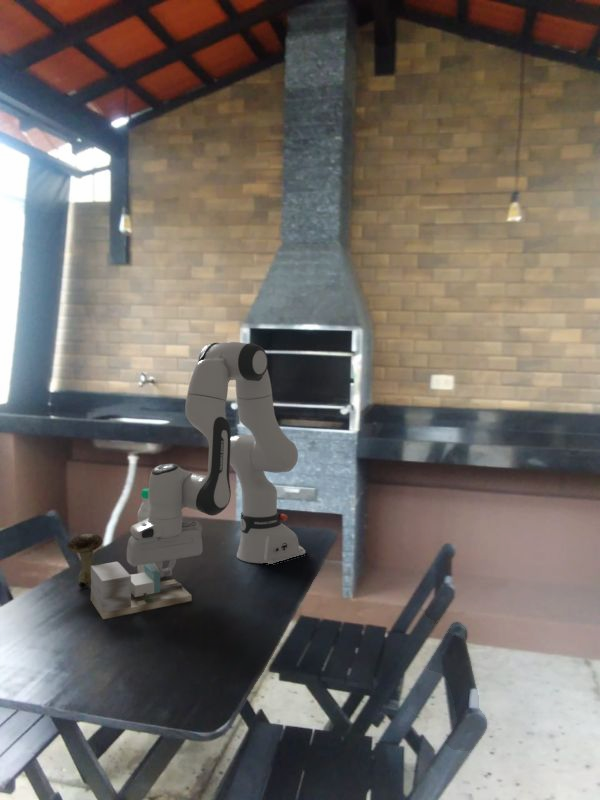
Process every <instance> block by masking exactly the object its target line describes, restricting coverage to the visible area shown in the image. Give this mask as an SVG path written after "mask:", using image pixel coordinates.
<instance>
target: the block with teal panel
mask: <svg viewBox="0 0 600 800" xmlns="http://www.w3.org/2000/svg"><path fill="white" fill-rule="evenodd" d="M144 566H145V572H143V573H138V572H137V573H134V574H133V573H132V574H129V575H130V576H131V593H132V594H133V595H134V596H135V597H138V596H143V595H144V596H145V597H146V598H149V596H148V594H153V593H158V592H160V582H161V577H160V573H159V572H158V571H157V570H156V569H155V568H154V567H153V566H152V565H151V564H148V565H144Z"/></svg>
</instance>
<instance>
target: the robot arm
mask: <svg viewBox="0 0 600 800" xmlns="http://www.w3.org/2000/svg"><path fill="white" fill-rule="evenodd" d="M264 349H265V348H263V346H260V345H258V344H255V343H252V342H251V343H250V342H249V343H245V342H240V341H231V342H213V343H208V344H206V345H204V346H203V348H202V349H201V351H200V353H199V355H198V359H197V360H198V362H197V363H196V365H195V367H194V369H193V372H192V375H191V377H190V380H189V384H188V390H187V394H186V399H185V406H184V410H185V411H184V412H185V417H186V419H187V421H188V422H189V423H190V425H191V426H193V427H194V428H195V429H196V430H198V431H199V432H200V433H201V434H203V436H204V437H205V439H206V440H207V444H208V464H207V474H206V475H204V474H200V473H196V472H192V471H188V470H185V469H183V468H182V467H180V466H179V465H178V464H177V463H176V464H175V463H166V464H165V463H164V464H159V465H157V466H156V467H154V468H152V470H151V472H150V474H149V479H148V488H149V489H148V500H149V503H150V511H149V518H147V519H145V520H143V521H141V522H139V523H138V522H137V523H135V524H132V525H131V526H130V534H131V535H130V537H129V538H128V541H127V546H126V562H127V564H129V565H130V566H131V567H137V566H139V565H145V564H151V563H155V564H156V566H157V567H158V569H159V573H160V578H164V577H169V576H170V577H171V576H172V575H173V569H174V568H175V565H176V563H177V560H178V559H184V558H189V557H194V556H195V557H197V556H200V555H201V554H202V553H203V540H202V534H203V525H202V524H201V523H200V522H198V521H196V520H195V521H190V522H183V509H185V508H188V509H190V510H191V509H192V510H194V511H198V512H200V513H202V514H203V513H204V514H206V515H208V516H217V515H219V514H221V513H222V512H223V511H224V510H225V509H226V508H227V507H228V505H229V504H230V501H231V496H232V495H231V494H232V491H231V490H232V489H231V483H230V481H231V480H230V467H231V468H232V469H233V471H234V472H235V474H236V476H237V479H238V481H239V484H240V489H241V502H242V503H241V505H242V507H241V510H242V511H241V513H240V533H241V534H240V540H239V544H238V549H237V553H236V558H237V559H239V560H240V561H243V562H246V563H250V564H251V563H253V564H263V563H268V564H267V565H269V564H273V563H276V562H279V561H283V560H286V559H289V558H292V557H296V556H299V555H303V554H305V553H306V550H305V549H304V548H303V547H302V546H301V545H300V543H299V539H298V538H299V537H298V535H297V534H296V533H295V531H293V530H291V529H290V528H289V527H288V526H286V525H285V524H284V523H282V521H283V522H286V521H287V520H288V515H287V514H285V513H280V512H278V510H277V509H278V508H277V507H278V491H277V487H276V486H275V485H274V484H273V483H272V482H271V481H270V480H269V479H268V478H267V476H266V475H265V472H267V473H274V474H278V473H279V474H280V473H287V472H291V471H292V470H293V469H294V468H295V466H296V465H297V462H298V459H299V453H298V448H297V446H296V444H295V443H294V442H293V441H292V440H290V439H289V438H288V437H287V435H285V433H284V432H283V430H282V429H281V427H280V424H279V422H278V420H277V418H276V414H275V409H274V408H275V407H274V401H273V390H272V383H271V379H270V378H271V377H270V374H269V370H268V366H269V359H268V355H267V353H266V351H265V350H264ZM230 381H235V392H236V393H235V394H236V403H237V404H236V405H237V412H238V413H237V414H238V419H239V422H240V423H241V424H242V425H243V426H244V427H246V428H247V429H248V430H249V431H250V433H251V434H246V433H245V434H237V435H232V433H231V431H232V430H231V425H230V423H229V421H228V419H227V416H226V415H227V414H226V405H227V399H228V391H229V390H228V389H229V382H230ZM166 561H168V562H169V563H168V565H167V567H165V568H163V564H164V562H166ZM161 565H162V567H161ZM273 565H274V564H273Z"/></svg>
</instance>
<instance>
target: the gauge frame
mask: <svg viewBox="0 0 600 800" xmlns="http://www.w3.org/2000/svg"><path fill="white" fill-rule="evenodd" d="M130 575H131V574H130V573H129V572H128V571H127V570H126V568H125V567H123V565H122V564H121V563H120V562H119V561H112V562H107V563H101V564H100V563H99V564H94V565H93V566H91V584H90V602H91V601H92V602H91V603H92V604H93V606H94V607H95V609H96V611H97V612H98V614H99V615H100V617H101V618H102V620H106V619H113V618H116V617H121V616H126V615H132V614H135V613H140V612H145V611H149V610H154V609H159V608H160V609H161V608H163V607H164V608H165V607H169V606H174V605H178V604H183V603H188V602H192V600H193V599H192V596H193V595H192V594H191V592H189V591H188V590H187V589H186V588H184V587H183V584H182V583H181V582H178V581H177V580H176V579H174V578H173V579H167V580H163V581H160V592H158V593H153V594H148V596H149V598H146V597H145V596H144V595H143V596H138V597H135V596H134V595H133V594H132V593H131V576H130Z"/></svg>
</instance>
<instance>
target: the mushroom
mask: <svg viewBox="0 0 600 800" xmlns="http://www.w3.org/2000/svg"><path fill="white" fill-rule="evenodd" d="M103 542H104V540H103V538H102V536H101V535H99V534H97V533H84V534H79V535H76V536H74V537H73V538H72V539H70V540H69V541H68V542H67V544H66V549H67V551H69V552H70V553H71V552H72V553H77V554H79V556H80V562H81V570H80V572H79V574H78V578H77V582H78V583H77V585H78V587H79V589H89V588H90V587H91V566H93V565H95V563H94V562H95V561H94V551H95V550H97V549H98V548H100V547H101V546H102V544H103Z"/></svg>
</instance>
